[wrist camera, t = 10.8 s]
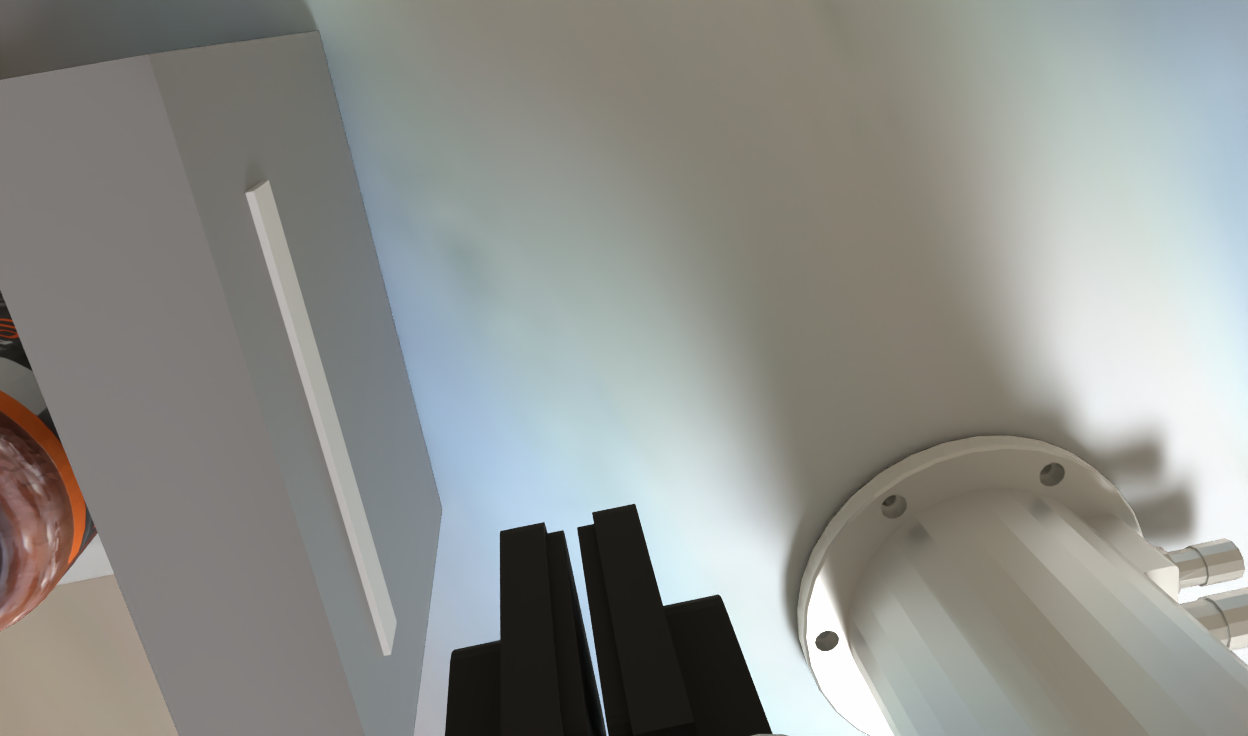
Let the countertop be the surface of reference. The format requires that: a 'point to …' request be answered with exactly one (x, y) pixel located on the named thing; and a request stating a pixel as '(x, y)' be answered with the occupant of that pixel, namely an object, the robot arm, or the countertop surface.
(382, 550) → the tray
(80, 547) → the supplement bottle
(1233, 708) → the robot arm
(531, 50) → the countertop surface
